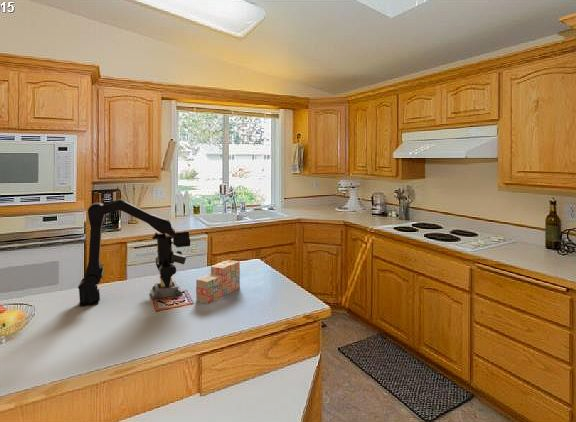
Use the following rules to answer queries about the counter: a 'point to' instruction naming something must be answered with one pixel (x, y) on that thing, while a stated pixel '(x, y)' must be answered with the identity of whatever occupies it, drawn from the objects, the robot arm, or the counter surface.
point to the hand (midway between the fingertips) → (166, 284)
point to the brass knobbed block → (164, 284)
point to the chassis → (165, 291)
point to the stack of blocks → (218, 281)
